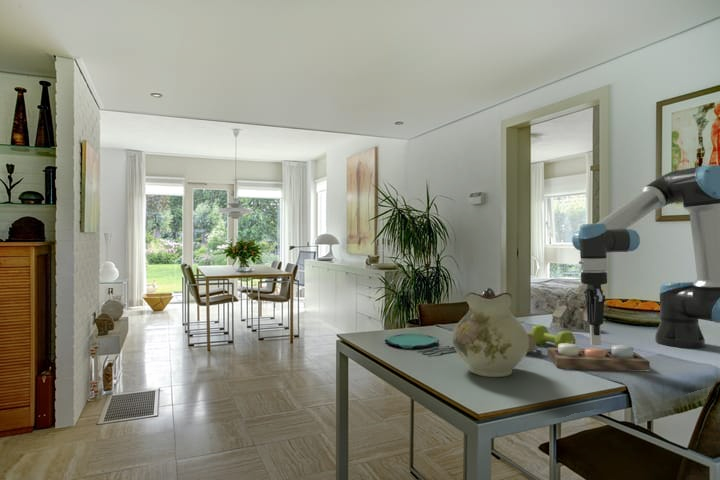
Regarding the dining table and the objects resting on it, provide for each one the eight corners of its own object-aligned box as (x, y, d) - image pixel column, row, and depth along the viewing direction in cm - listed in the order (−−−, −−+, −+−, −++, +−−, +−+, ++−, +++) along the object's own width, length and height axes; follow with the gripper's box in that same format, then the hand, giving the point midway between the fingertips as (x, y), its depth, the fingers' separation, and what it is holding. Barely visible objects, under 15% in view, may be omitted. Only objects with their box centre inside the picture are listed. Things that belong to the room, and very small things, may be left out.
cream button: (575, 355, 146) (575, 343, 146) (581, 360, 140) (580, 347, 140) (556, 355, 147) (556, 343, 147) (560, 359, 141) (560, 347, 141)
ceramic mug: (522, 355, 153) (522, 333, 154) (504, 350, 161) (504, 329, 161) (544, 352, 158) (544, 330, 158) (526, 347, 165) (526, 326, 165)
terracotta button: (602, 360, 144) (602, 348, 144) (608, 365, 139) (608, 352, 139) (582, 359, 146) (582, 347, 146) (587, 364, 140) (587, 352, 140)
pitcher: (484, 386, 121) (483, 295, 121) (436, 365, 142) (436, 288, 143) (546, 376, 130) (544, 291, 130) (492, 358, 151) (491, 285, 152)
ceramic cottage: (545, 325, 203) (546, 293, 202) (578, 325, 205) (580, 294, 204) (564, 335, 188) (567, 300, 187) (600, 335, 190) (602, 300, 189)
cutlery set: (417, 336, 187) (417, 330, 187) (466, 352, 161) (466, 346, 161) (377, 342, 178) (377, 336, 178) (421, 361, 151) (421, 354, 151)
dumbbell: (578, 351, 157) (577, 331, 157) (560, 354, 154) (560, 333, 154) (543, 342, 173) (543, 323, 173) (527, 344, 170) (527, 325, 170)
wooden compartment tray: (631, 359, 146) (630, 350, 146) (649, 371, 133) (649, 361, 133) (547, 356, 152) (547, 347, 152) (557, 367, 138) (557, 358, 138)
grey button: (629, 357, 143) (628, 345, 143) (636, 362, 137) (636, 349, 137) (608, 356, 144) (608, 344, 144) (615, 361, 138) (615, 349, 138)
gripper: (575, 270, 149) (577, 339, 149) (587, 273, 137) (589, 349, 137) (599, 269, 148) (601, 340, 148) (613, 272, 135) (615, 349, 135)
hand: (595, 344), depth 142 cm, fingers closed
